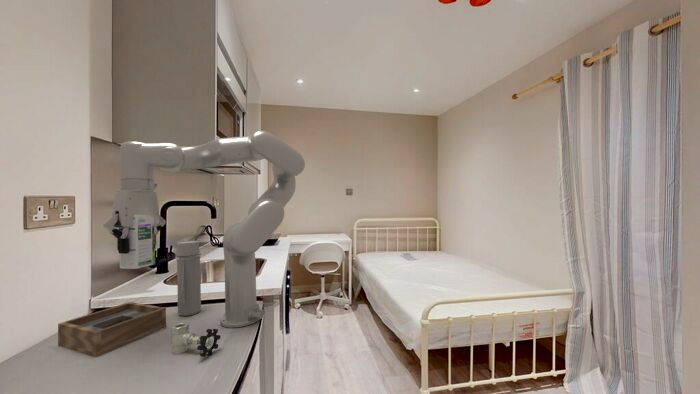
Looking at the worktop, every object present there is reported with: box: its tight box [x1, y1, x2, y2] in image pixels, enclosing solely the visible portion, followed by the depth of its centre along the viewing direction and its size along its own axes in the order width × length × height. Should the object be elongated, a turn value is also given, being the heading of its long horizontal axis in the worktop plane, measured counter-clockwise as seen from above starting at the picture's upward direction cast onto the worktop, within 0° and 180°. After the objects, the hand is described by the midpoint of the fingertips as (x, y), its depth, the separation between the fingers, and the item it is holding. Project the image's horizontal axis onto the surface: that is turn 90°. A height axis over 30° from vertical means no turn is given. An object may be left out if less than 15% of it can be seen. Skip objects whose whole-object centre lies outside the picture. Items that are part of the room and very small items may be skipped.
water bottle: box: [175, 240, 202, 317], centre depth 98 cm, size 9×8×25 cm
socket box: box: [57, 301, 167, 358], centre depth 82 cm, size 18×18×6 cm
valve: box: [170, 322, 222, 358], centre depth 72 cm, size 7×7×12 cm
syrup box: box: [119, 215, 156, 270], centre depth 77 cm, size 6×6×14 cm
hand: (137, 250), depth 77 cm, fingers closed on syrup box, 6 cm apart
